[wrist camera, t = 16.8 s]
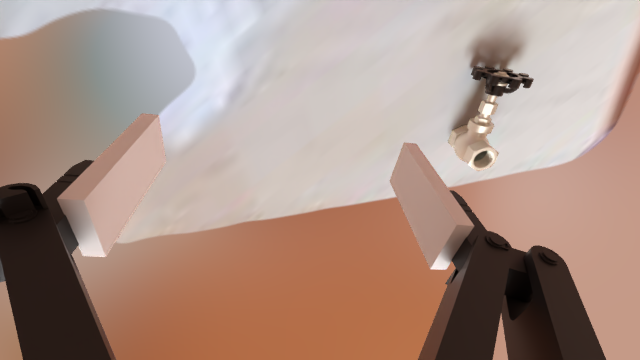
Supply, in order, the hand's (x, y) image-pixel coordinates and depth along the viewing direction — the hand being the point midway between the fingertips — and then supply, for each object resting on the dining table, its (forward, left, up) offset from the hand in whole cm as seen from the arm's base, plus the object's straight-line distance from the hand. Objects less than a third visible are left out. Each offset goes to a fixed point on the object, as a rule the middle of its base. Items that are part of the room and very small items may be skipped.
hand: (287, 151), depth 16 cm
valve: (+25, -3, -24) cm, 34 cm away
